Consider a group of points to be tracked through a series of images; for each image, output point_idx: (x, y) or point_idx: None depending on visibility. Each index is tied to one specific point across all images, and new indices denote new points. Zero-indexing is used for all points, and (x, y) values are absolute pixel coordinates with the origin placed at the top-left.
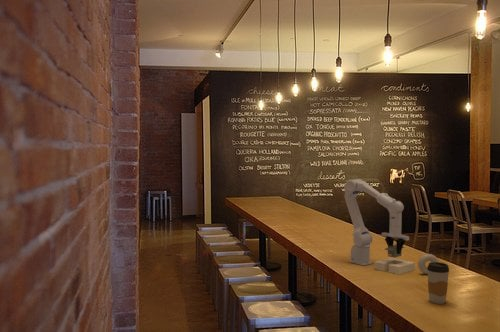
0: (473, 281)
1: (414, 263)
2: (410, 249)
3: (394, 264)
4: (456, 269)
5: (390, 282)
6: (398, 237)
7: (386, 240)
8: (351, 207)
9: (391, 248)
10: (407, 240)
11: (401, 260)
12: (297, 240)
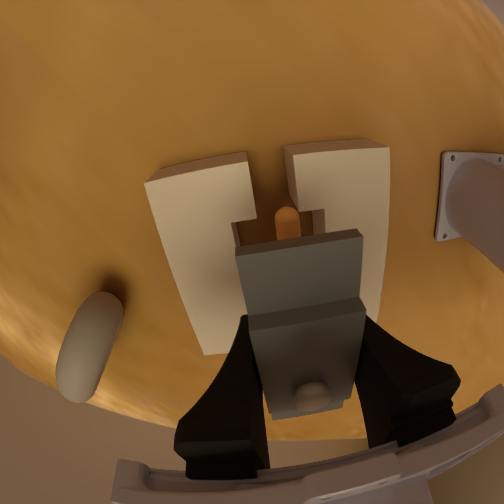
0: (17, 342)
1: (203, 348)
2: None
3: (229, 213)
4: (150, 412)
5: (67, 12)
6: (219, 491)
7: (426, 370)
8: None
9: (299, 306)
10: (122, 464)
11: None
12: None
